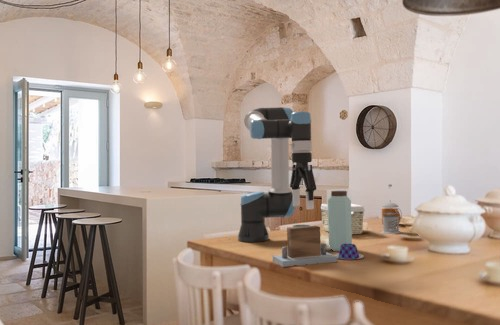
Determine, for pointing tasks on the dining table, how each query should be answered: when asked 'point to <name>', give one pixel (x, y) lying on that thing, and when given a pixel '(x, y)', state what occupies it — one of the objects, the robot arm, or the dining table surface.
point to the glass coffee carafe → (387, 210)
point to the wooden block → (303, 241)
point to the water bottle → (339, 220)
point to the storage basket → (356, 218)
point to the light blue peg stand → (304, 258)
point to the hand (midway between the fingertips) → (303, 207)
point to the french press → (391, 219)
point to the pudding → (348, 252)
